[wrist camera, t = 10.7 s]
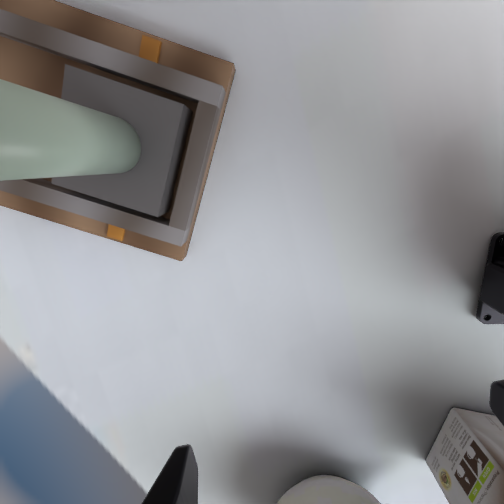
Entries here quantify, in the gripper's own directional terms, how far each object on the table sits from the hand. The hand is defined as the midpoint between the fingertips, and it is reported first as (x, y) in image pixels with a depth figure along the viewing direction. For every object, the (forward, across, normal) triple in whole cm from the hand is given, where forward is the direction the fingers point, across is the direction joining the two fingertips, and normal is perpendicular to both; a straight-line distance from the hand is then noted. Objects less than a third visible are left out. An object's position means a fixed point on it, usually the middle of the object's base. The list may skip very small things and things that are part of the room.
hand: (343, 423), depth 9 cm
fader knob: (+12, +7, -10) cm, 17 cm away
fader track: (+14, +11, -12) cm, 21 cm away
